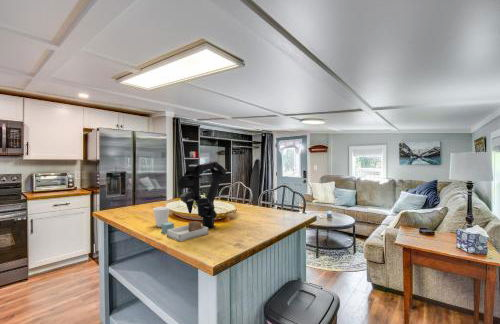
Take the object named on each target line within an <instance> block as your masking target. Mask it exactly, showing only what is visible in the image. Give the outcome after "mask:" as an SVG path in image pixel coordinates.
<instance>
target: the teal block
mask: <svg viewBox="0 0 500 324" xmlns="http://www.w3.org/2000/svg"><path fill="white" fill-rule="evenodd" d="M172 228H175V223H173V222H171V221H167V223H162V227H161V233H163V234H165V235H167V230H168V229H172Z"/></svg>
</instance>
